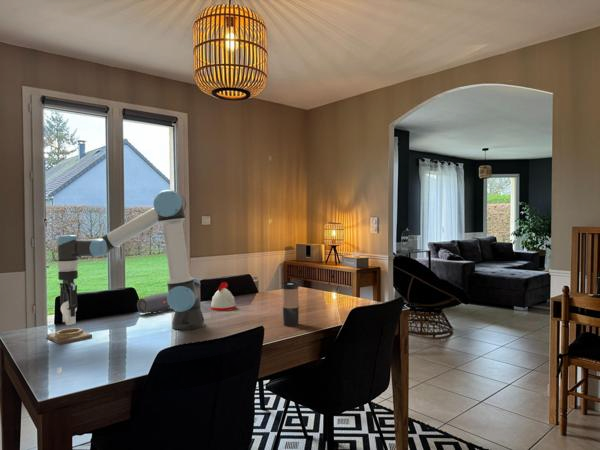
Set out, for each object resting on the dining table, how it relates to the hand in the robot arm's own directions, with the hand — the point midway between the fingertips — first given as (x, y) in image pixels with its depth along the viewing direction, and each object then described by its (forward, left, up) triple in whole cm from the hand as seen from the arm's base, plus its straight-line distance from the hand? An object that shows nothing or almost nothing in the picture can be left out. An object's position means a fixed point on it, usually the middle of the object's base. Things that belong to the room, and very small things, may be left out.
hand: (69, 322), depth 186 cm
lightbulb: (0, 0, -2) cm, 2 cm away
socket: (0, 0, -7) cm, 7 cm away
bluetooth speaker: (+19, -54, -7) cm, 57 cm away
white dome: (-3, -82, -7) cm, 82 cm away
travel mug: (-60, -79, -7) cm, 99 cm away
